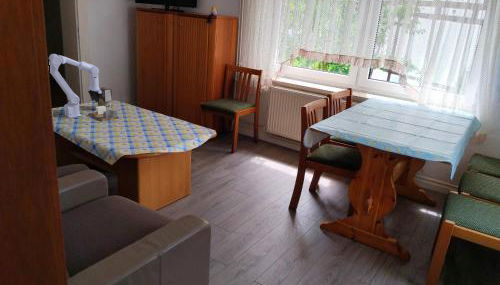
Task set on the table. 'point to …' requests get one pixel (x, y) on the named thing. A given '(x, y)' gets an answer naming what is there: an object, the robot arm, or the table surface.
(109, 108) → the coffee box
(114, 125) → the table surface
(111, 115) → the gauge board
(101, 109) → the white rectangular block
